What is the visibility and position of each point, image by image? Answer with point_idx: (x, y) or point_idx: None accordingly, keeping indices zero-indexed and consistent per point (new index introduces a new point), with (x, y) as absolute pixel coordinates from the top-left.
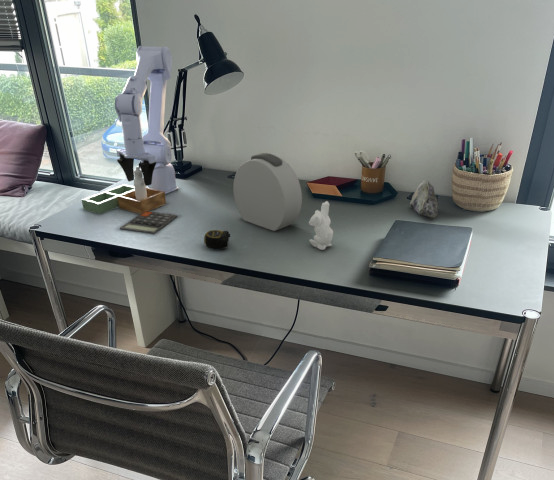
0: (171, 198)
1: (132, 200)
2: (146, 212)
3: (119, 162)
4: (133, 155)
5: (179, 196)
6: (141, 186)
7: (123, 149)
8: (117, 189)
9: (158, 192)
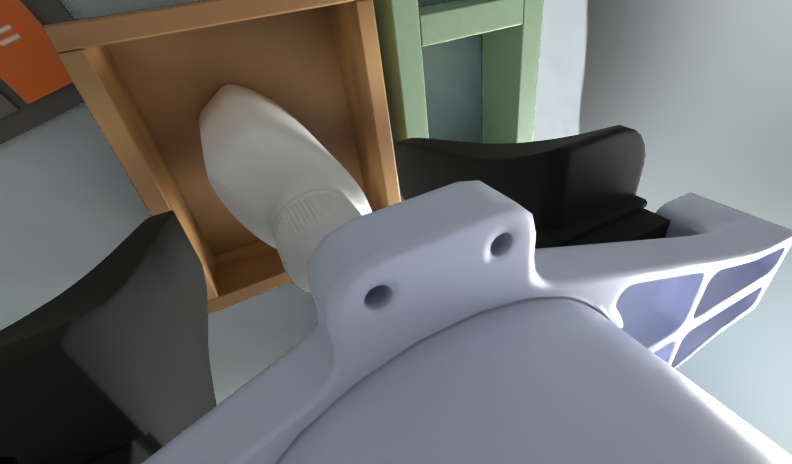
0: (274, 313)
1: (164, 7)
2: (53, 62)
3: (577, 137)
4: (276, 438)
5: (274, 350)
6: (207, 173)
7: (713, 325)
8: (511, 114)
9: (253, 277)
